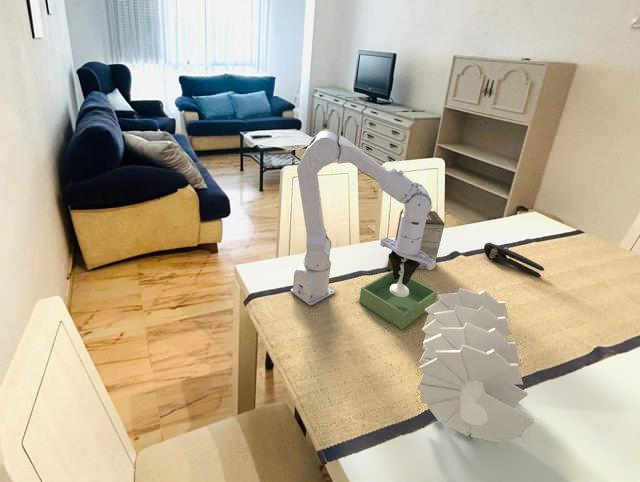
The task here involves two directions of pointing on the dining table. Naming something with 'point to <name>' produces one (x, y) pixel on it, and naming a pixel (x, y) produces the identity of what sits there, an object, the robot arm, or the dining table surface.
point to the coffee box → (431, 236)
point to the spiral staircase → (472, 367)
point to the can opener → (500, 254)
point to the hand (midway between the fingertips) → (401, 280)
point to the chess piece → (400, 284)
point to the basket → (397, 300)
